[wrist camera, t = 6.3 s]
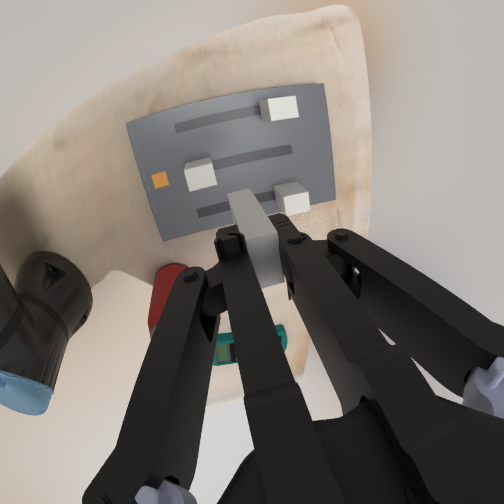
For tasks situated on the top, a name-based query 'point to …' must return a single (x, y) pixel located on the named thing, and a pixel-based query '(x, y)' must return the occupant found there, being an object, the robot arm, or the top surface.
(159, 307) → the beer can
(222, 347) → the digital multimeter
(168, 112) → the breaker panel
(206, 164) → the handle
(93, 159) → the top surface
